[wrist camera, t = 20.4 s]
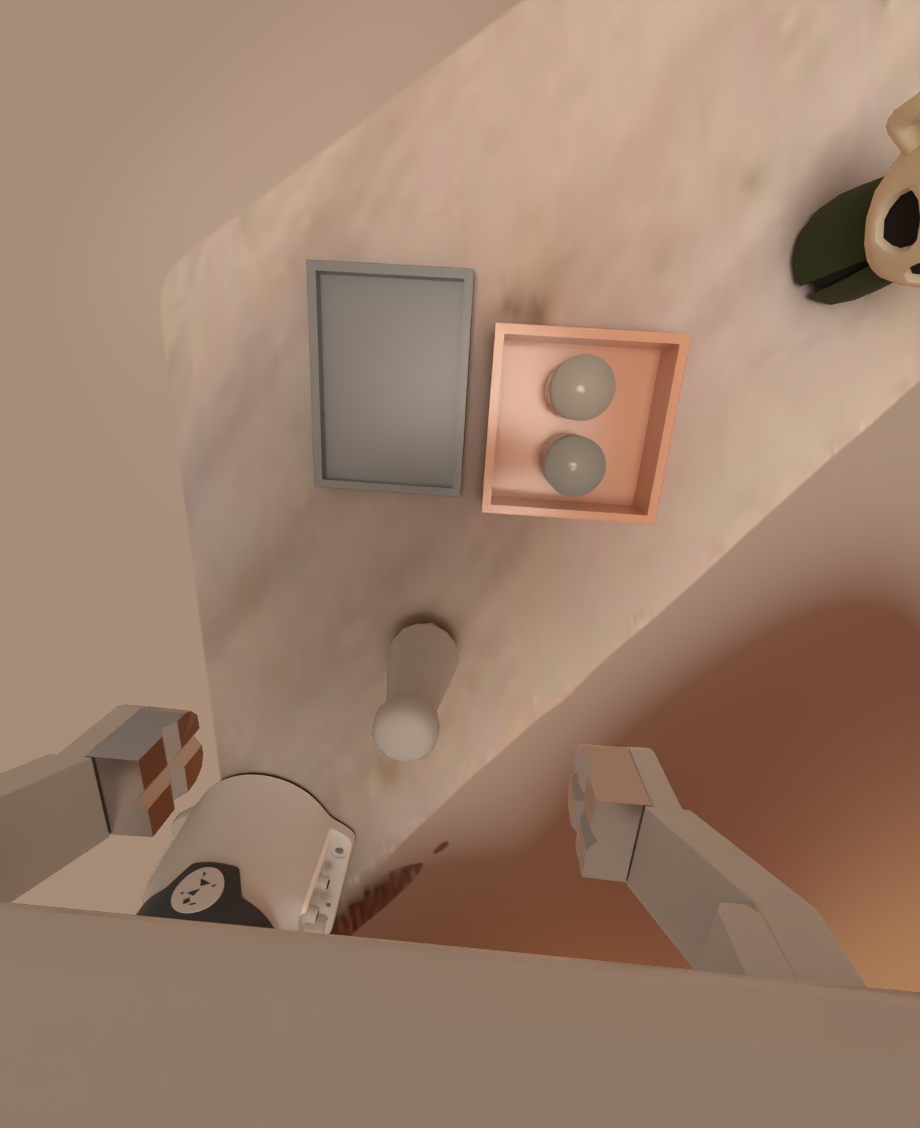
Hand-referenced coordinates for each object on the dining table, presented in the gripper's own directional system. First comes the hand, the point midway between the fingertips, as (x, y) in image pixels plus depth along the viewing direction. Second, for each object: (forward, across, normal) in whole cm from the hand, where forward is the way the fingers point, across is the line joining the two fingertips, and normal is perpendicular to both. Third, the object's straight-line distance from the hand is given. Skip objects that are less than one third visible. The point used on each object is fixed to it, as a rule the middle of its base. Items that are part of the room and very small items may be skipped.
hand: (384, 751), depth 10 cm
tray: (+29, -6, +8) cm, 31 cm away
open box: (+29, +8, +6) cm, 31 cm away
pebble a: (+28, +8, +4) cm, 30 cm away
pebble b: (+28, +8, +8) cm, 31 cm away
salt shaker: (+29, -2, -13) cm, 32 cm away
